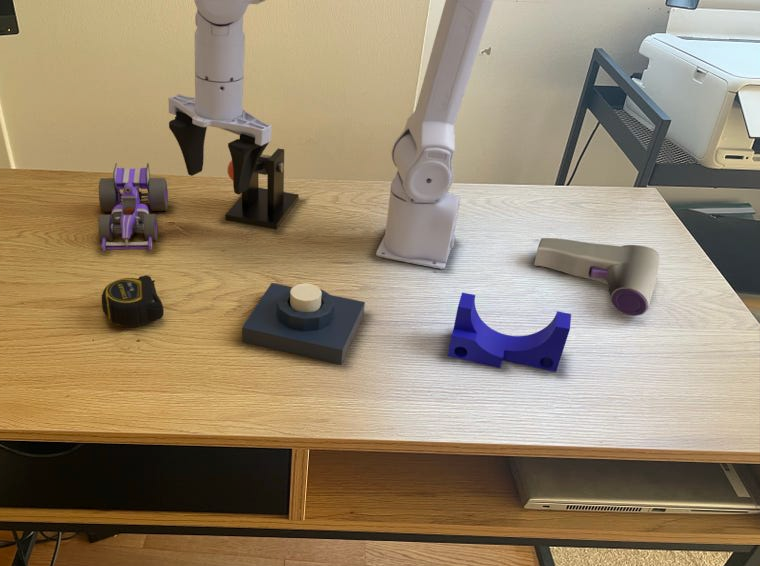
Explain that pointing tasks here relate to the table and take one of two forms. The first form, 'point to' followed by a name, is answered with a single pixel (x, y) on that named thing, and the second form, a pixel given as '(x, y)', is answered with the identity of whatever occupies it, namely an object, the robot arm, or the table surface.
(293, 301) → the button
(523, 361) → the blue semicircular cradle
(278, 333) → the control block
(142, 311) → the tape measure
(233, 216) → the bracket
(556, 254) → the infrared thermometer
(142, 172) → the toy race car
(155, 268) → the table surface
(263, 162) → the lever
